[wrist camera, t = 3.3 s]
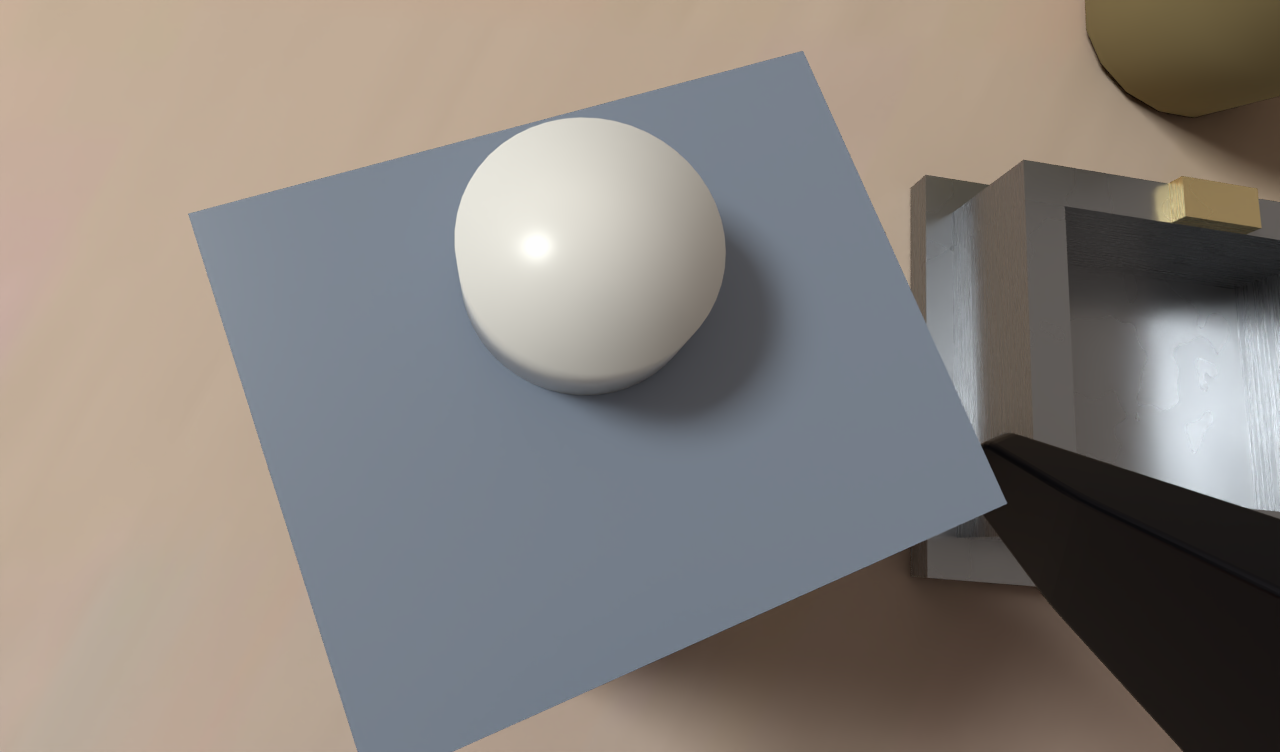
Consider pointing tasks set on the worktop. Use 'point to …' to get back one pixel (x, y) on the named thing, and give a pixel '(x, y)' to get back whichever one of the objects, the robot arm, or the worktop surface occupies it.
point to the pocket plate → (1104, 331)
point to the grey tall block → (584, 395)
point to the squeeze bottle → (1189, 51)
